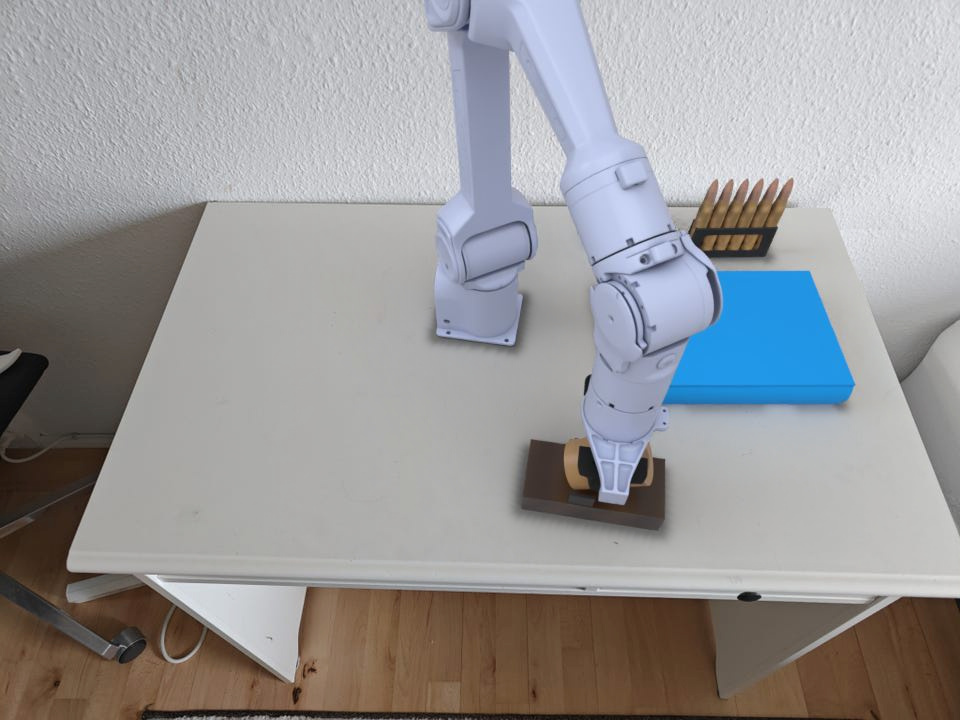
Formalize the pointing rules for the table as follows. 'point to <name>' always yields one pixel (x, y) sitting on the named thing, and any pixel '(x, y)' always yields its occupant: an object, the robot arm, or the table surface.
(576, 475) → the towel roll
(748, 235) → the ammunition clip
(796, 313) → the book
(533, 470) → the stand
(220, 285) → the table surface
